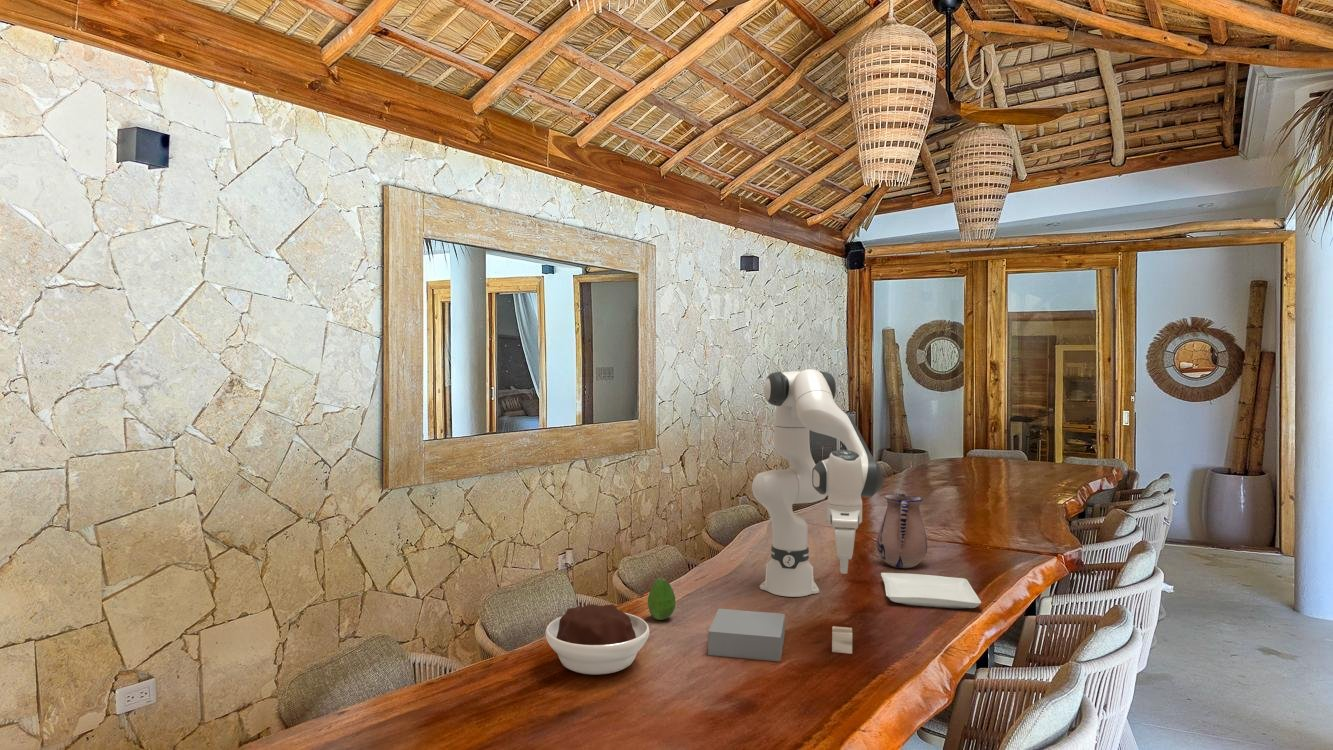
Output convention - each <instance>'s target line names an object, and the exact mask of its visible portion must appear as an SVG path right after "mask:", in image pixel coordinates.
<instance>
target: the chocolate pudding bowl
mask: <svg viewBox="0 0 1333 750" xmlns="http://www.w3.org/2000/svg"><path fill="white" fill-rule="evenodd" d="M649 636H650V627H649V624H648V622H646V621H645V620H644V619H643V618H641V617H639V616H638V615H637V616H636V615H635V614H631V613H627V612H625V611H622V610H620V609H618V608H617V606H616V605H615V604H605V605H598V604H587V605H584V606H576V607H571V608H568V609H566V611H565V614H563V615H562V616H559V617H557V618H555V619H554V620H552V621H551V622H550V623H549V624H547V626H546V629H545V638H546V641H547V642H548V643H547V644H549V646H550V648H551V649H552V650H553V651H554V652H555V653H556V654H557V656H558V659H559V660H560V662H561V665H562V666H564V668H566V669H567V670H570V671H573V672H575V673H578V674H583V675H593V676H594V675H598V676H599V675H608V674H612V673H613V674H614V673H616V672H619V671H622V670H625V669H626V668H628V667H629V666H631V665H632V664H633V663H634V661H635V659H636V657H637V654H638V652H639V651H640V650H641V649H642V648H643V646H644V645H645V644H646V643H647V641H648V638H649Z"/></svg>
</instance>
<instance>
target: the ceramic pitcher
mask: <svg viewBox="0 0 1333 750" xmlns="http://www.w3.org/2000/svg"><path fill="white" fill-rule="evenodd" d="M884 498H885V499H886V502H887V503H886V504H887V506H886V511H885V513H884V516H883V520H882V521H881V525H880V527H879V530H878V533H877V536H876V549H877V552H878V553H879V555H880V558H881V559H882V561H883V562H884V563H886V564H887V565H888V566H891V567H893V568H897V569H898V568H899V569H912V568H914V567H916V566H918V565H920V563H922V561H923V560H924V559H925V557H926V555H927V552H928V537H927V533H926V529H925V525H924V523H923V522H924V521H923V518H922V514H921V511H920V505H921V502H922V501H923V500H924V499H923V498H922V497H920V496H916V495H907V494H905V493H898V494H885V495H884Z"/></svg>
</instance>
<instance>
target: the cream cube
mask: <svg viewBox="0 0 1333 750" xmlns="http://www.w3.org/2000/svg"><path fill="white" fill-rule="evenodd" d="M831 628H832V629H831V631H832V632H831V635H832V636H831V639H832V640H831V652H832V653H839V654H850V655H851V654H853V627H847V626H845V627H844V626H834V625H833V626H832V627H831Z"/></svg>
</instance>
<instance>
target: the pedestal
mask: <svg viewBox="0 0 1333 750" xmlns="http://www.w3.org/2000/svg"><path fill="white" fill-rule="evenodd" d="M785 628H786V613H778V612H777V613H776V612H765V611H764V612H763V611H752V610H739V609H730V608H729V609H726V608H718V609H717V611H716V614H715V616H714V618H713V620H712V622H711V625H710V626H709V629H708V632H707V633H708V634H707V637H708V639H707V641H708V642H707V649H708V650H707V655H708V656H716V657H726V658H727V657H728V658H737V659H738V658H739V659H750V660H760V661H769V662H771V661H772V662H781V660H782V659H781V658H782V655H783V647H784V642H785V637H786V635H785V634H786V633H785V631H786V629H785Z"/></svg>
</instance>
